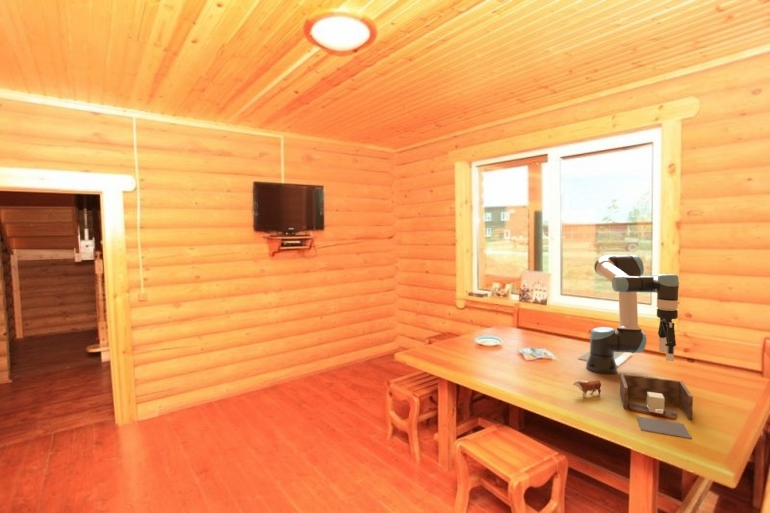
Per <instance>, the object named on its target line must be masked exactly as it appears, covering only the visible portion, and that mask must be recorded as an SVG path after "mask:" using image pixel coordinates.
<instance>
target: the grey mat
mask: <svg viewBox="0 0 770 513" xmlns="http://www.w3.org/2000/svg"><path fill="white" fill-rule="evenodd" d="M636 418H637V423H638V425H639V429H640V431H644V432H649V433H654V434H660V435H665V436H671V437H676V438H683V439H687V440H688V439H689V440H692V436H691V434H690V433H689V431H688V429H687V428H686V425H685V424H684V423H682V422H675V421H671V420H670V421H669V420H663V419H657V418H651V417H647V416H646V417H645V416H638V415H637V416H636Z"/></svg>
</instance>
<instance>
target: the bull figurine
mask: <svg viewBox="0 0 770 513" xmlns="http://www.w3.org/2000/svg"><path fill="white" fill-rule="evenodd" d="M572 385H573V386H576V387H577V388H578V389H579V390H580V391H582V393H583V394H582V398H583V399H585V398H586V397H587V396H586V395H587V392H588V391H589V392H590V394H589V395H591V396H592V395H593V394H594V392H598V394H597V397H600V396H601V391H602V390H601V386H602V384H601V381H600V380H599V379H597V380H583V379H582V380H580V379H576V380H574V382H573V383H572Z"/></svg>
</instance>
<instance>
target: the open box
mask: <svg viewBox="0 0 770 513" xmlns="http://www.w3.org/2000/svg"><path fill="white" fill-rule="evenodd" d="M619 378H620V379H619V382H620V383H619V394H620V398H621V399H620V400H621V402H622V406H623V410H626V411H628V397H631V398H640V399H645V400H647V392H653V393H661V394H662V395H663V397H664V398H665V403H667V402H668V403H673V404H674V403H675V404H679V407H680V408H681V410H682V411H683V413H684V414H685V416H686V418H687V420H688V421H692V420H693V403H694V401H693V400H694V396H693V395H692V393H691V392H690V391H689V389H688V388H687V386H686V384H685V383H684V382H683V380H682V381H681V380H674V379H668V378H667V379H666V378H658V377H652V376H651V377H649V376H642V375H634V374H626V373H620V377H619Z"/></svg>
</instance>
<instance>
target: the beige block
mask: <svg viewBox="0 0 770 513" xmlns="http://www.w3.org/2000/svg"><path fill="white" fill-rule="evenodd" d="M665 403H666V401H665V398H664V397H663V395H662V394H661V393H653V392H647V399H646V406H647V405H648V407H649V408H652V409H663V410H664V411H665Z"/></svg>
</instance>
